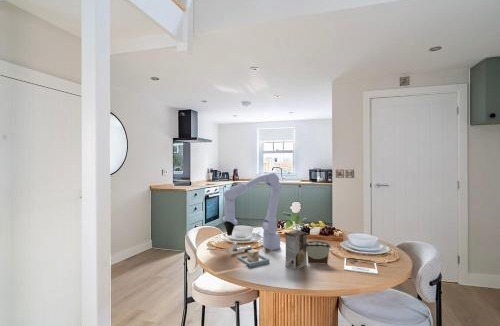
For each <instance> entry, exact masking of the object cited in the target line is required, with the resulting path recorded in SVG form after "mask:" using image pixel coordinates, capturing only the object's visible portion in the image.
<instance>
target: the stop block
mask: <svg viewBox="0 0 500 326" xmlns="http://www.w3.org/2000/svg"><path fill="white" fill-rule="evenodd" d="M259 252H260V251H259V250H257V249H254V248H253V249H252V250H248V253H246V255H247V258H246V259H247V260H246V261H248V262H251V263H252V262H256V261H260V259H259V258H260V257H259V254H260V253H259Z"/></svg>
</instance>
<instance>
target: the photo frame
mask: <svg viewBox="0 0 500 326" xmlns="http://www.w3.org/2000/svg"><path fill="white" fill-rule="evenodd" d="M373 265H374V268H369V267H362V266H361V267H360V266H353V265H347V258H345V257H344V266H343V270H344V271H348V272H355V273H362V274H363V273H364V274H370V273H371V274H372V275H379V271H378V267H377V263H374V262H373Z"/></svg>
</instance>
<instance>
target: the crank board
mask: <svg viewBox="0 0 500 326" xmlns="http://www.w3.org/2000/svg"><path fill="white" fill-rule="evenodd" d="M241 246H242V245H237V248H241ZM244 246H247V245H246V244H245V245H244ZM252 249H254V248H253V247H251V249H245V250H240V251H233V246H232V247H226V248H222V250H223V251H224V252H226V253H228V254H230V255H231V256H241V255H246V254H247V253H248V250H252Z"/></svg>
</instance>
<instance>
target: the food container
mask: <svg viewBox="0 0 500 326" xmlns="http://www.w3.org/2000/svg"><path fill="white" fill-rule="evenodd" d="M330 248H331V245H330V243H329V242H327V241H324V240H308V241H307V263H308V264H314V265H328V263H329V255H330V254H329V253H330V252H329V251H330Z"/></svg>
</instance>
